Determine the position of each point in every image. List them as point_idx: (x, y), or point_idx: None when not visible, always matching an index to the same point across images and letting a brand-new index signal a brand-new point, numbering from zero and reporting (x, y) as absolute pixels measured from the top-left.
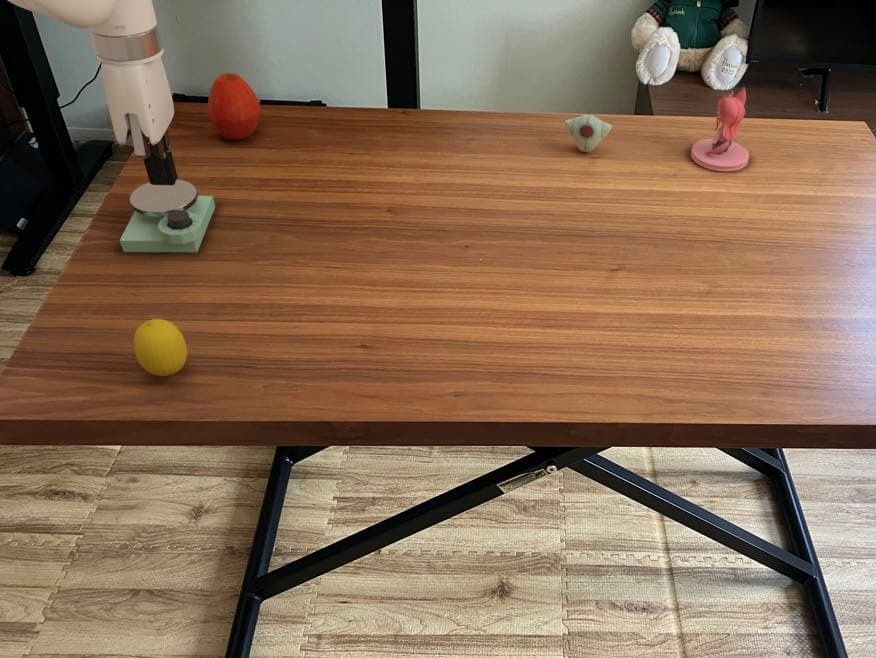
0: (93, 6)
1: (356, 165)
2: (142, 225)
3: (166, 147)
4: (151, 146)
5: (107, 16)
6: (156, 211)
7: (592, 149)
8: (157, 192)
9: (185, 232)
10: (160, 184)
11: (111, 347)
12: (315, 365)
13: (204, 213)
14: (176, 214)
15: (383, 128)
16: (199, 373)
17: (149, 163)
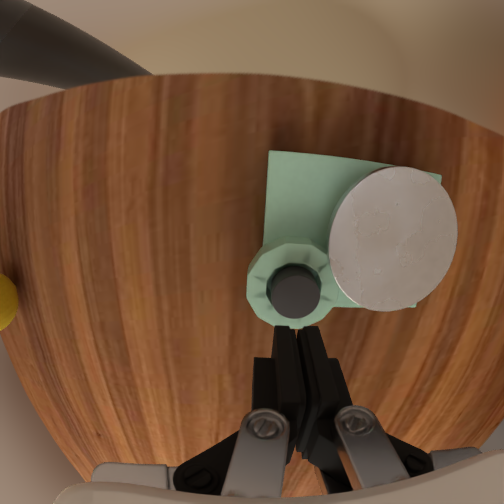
0: None
1: (437, 424)
2: (329, 189)
3: (315, 469)
4: None
5: None
6: (330, 241)
7: None
8: (413, 228)
9: (253, 306)
10: (272, 350)
11: (31, 209)
12: (65, 403)
13: (358, 306)
14: (301, 294)
15: (485, 420)
16: (24, 314)
17: (253, 407)
